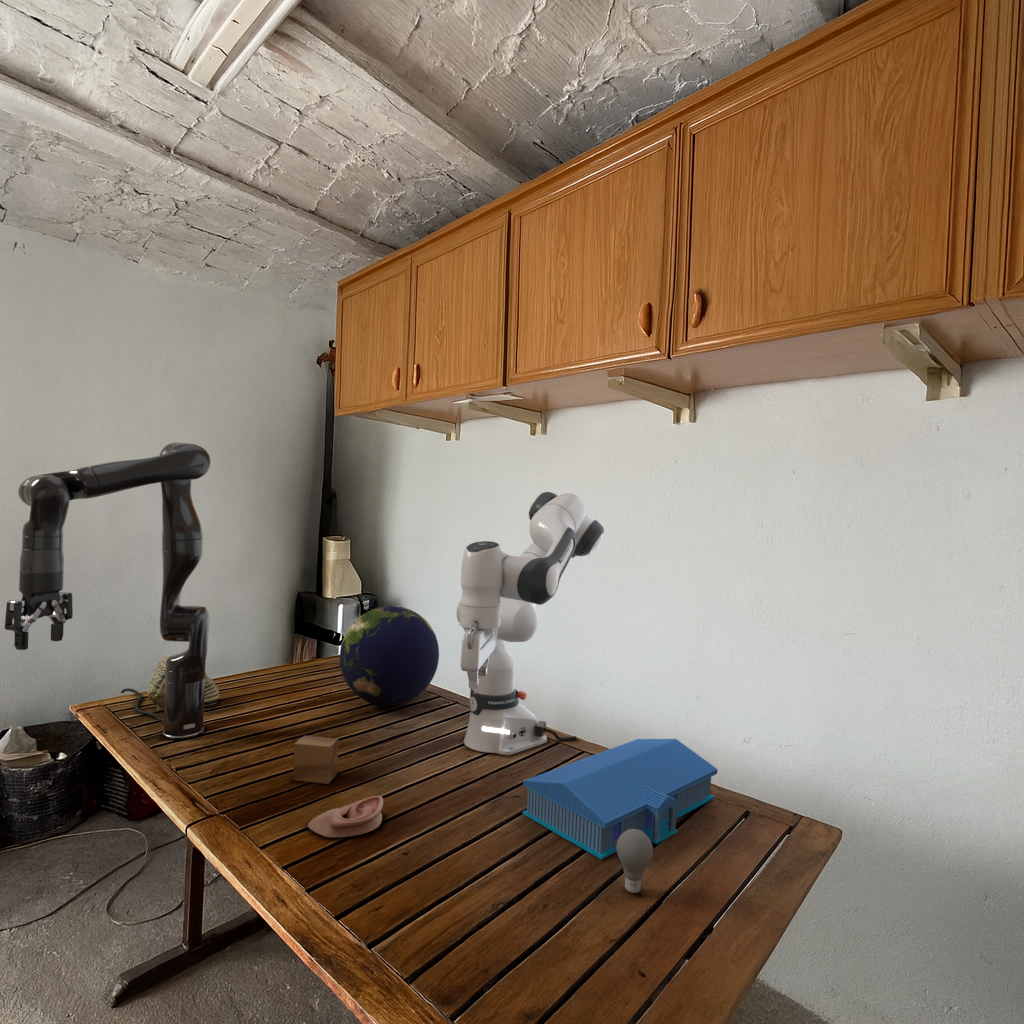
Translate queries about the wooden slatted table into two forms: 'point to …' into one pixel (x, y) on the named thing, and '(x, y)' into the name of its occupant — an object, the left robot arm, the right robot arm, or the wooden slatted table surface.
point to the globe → (389, 655)
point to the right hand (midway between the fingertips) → (478, 681)
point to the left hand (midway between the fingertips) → (39, 645)
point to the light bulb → (634, 857)
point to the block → (315, 759)
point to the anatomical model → (349, 819)
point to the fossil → (158, 687)
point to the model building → (621, 793)
